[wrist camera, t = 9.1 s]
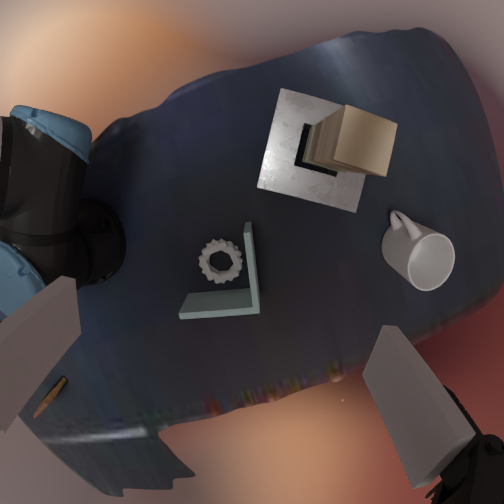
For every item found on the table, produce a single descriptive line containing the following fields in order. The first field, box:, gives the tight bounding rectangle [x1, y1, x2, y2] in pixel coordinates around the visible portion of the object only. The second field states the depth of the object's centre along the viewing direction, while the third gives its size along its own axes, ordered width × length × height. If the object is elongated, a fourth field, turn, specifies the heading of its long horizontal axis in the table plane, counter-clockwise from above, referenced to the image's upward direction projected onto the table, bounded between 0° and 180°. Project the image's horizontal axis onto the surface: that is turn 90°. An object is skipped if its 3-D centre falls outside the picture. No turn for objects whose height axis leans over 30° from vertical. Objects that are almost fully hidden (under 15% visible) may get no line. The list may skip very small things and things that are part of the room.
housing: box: [257, 88, 366, 213], centre depth 39 cm, size 14×14×8 cm
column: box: [302, 105, 397, 177], centre depth 28 cm, size 5×5×16 cm
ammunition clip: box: [33, 376, 68, 418], centre depth 53 cm, size 11×2×12 cm, turn 132°
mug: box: [381, 210, 455, 291], centre depth 41 cm, size 9×12×11 cm
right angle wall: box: [179, 222, 260, 319], centre depth 45 cm, size 12×12×8 cm
